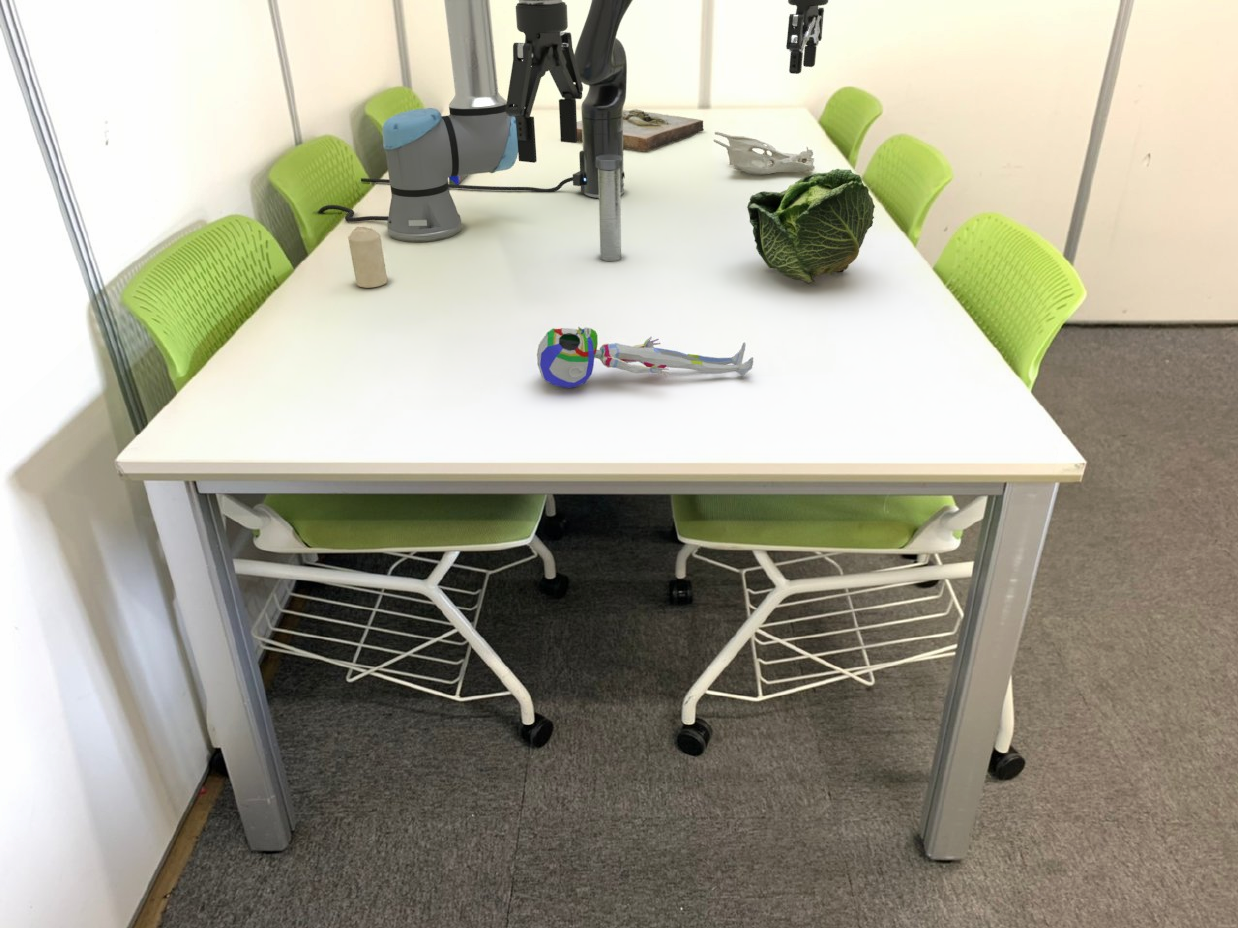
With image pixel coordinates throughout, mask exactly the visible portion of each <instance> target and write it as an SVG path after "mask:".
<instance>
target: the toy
mask: <svg viewBox="0 0 1238 928" xmlns="http://www.w3.org/2000/svg"><path fill="white" fill-rule="evenodd" d="M577 327H578V328H577V329H576V328H571V327H570V328H568V327H567V328H565V327H564V328H562V327H561V328H551V329H550V330H548V331H547V332H546V334H545V335H544V336H543V338H542V339H541V341H540V342H539V343H538V347H537V350H536V351H537V352H536V358H537V360H536V361H537V367H538V370H539V373H540V377H541V378H542V380H544V381H546V382H547V383H549V384H551V385H553V386H557V387H561V388H569V389H573V388H576V387H578V386H580V385H582V384H585V383H586V382H587V381H588V380H589V379H590V377H591V376H592V374H593V369H594V366H595V359H598V360H600V362H601V364H602V365H603V366H605V367H606V368H608V369H609V368H611V369H612V368H613V369H619V370H623V371H626V372H629V373H633V374H656V375H661V376H665V377H668V375H671V373H670V372H668V371H669V368H671V369H685V370H693V371H697V372H700V373H703V374H706V375H710V374H712V375H715V374H719V375H720V374H726V373H733V372H736V373H737V374H740V375H741V376H745V375H746V374H747V373H748V372H749V371H751V370H752V369H753V366H754V357H753V356H752V357H750V358H749V359H748V360H747V361H745V362H743V361H744V354H745V351H746V342H743V343H742V345H741V348H740V349H739V350H738V352H737V353H735V355H733V356H732V357H731V356H730V357H716V356H714V357H713V356H707V355H700V354H690V353H688V354H687V353H684V352H681V351H677V350H673V349H672V350H671V349H665V348H661V347H654V346H656V345H657V346H658V345H661V342H657V341H659V338H656V339H653V340H652V338H653V337H652V336H650V337H649V338H647V339H646V340H645V342H643V344H636V345H626V344H621V343H617V342H614V343H604V344H602V345H601V346H600V347H599V349H598V333H597V331H596V330H594V329H593V328H591V327H590V328H589V327H584V328H581V327H580V326H577ZM631 363H641V364H642V365H639V364H631ZM643 365H644V366H643ZM665 370H666V371H665Z"/></svg>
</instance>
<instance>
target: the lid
mask: <svg viewBox="0 0 1238 928" xmlns="http://www.w3.org/2000/svg"><path fill="white" fill-rule="evenodd" d="M596 167H597V168H598V169H603V170H614V169H619V168H621V167H622V157H621V156H619V155H614V154H605V155H599V156H597V157H596Z"/></svg>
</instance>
